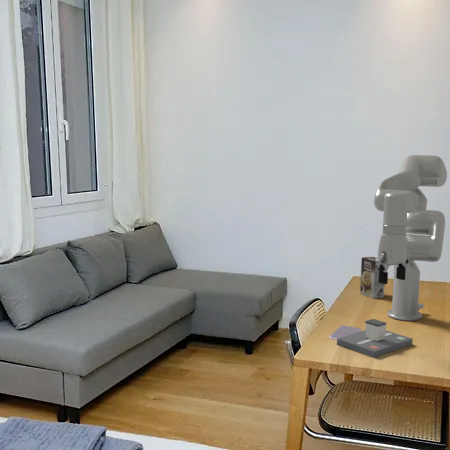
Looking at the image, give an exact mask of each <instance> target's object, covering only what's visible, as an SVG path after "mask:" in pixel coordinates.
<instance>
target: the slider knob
mask: <svg viewBox="0 0 450 450" xmlns="http://www.w3.org/2000/svg"><path fill="white" fill-rule="evenodd" d="M364 323H365V329H364V330H365V337H366V338H369V339H372V340H375V341H380V340H383V339H385V331H387V330H386V329H387V322H384V321H382V320H379V319H376V318H372V319H368V320H364Z"/></svg>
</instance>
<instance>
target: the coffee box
mask: <svg viewBox="0 0 450 450" xmlns="http://www.w3.org/2000/svg"><path fill="white" fill-rule="evenodd" d="M376 258H377V257H375V256H365V257H364V256H363V257H361V263H360V264H361V265H360V267H361V269H360V286H359V288H360V289H359V293H360V294H361V295H363V296H366V297H368V298H370V299H371V298H372V299H379V298H384V297H385V288H386V287H385V285H386V284H382V283H379V282H378V281H379V271H378V268H377V266H376V262H375V260H376ZM384 268H385V265H384Z"/></svg>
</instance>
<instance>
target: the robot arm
mask: <svg viewBox="0 0 450 450" xmlns="http://www.w3.org/2000/svg"><path fill="white" fill-rule="evenodd" d="M447 178H448V171H447V167H446V165H445V162H444V161H443V159H442V157H440V156H438V155H426V154H424V155H423V154H422V155H421V154H420V155H419V154H414V155H408V156H407V157H405V158H404V160H402V163H401V166H400V167H399V170H398V172H397V173H396V174H393V175H391V176H390V177H388V178H385V179H383V180H382V181H381V182H380V183H379V185H378V187H377V189H376V191H375V194H374V198H373V204H374V207H375V209H376V210H378V211H380V212H383V218H382V220H383V221H382V234H381V236H380V238H379V239H380V240H379V243H378V252H377V257H375V258H376V260H375V262H376V266H377V268H378V271H379V281H378V282H379V283H382V284H385V285H387V284H388V282H389V279H388V278H389V272H388V271H389V270H388V269H389V267H390V266H394V267H393V280H392V281H393V284H392V285H393V286H392V302H391V303H392V304H391V309H389V310H388V311H387V316H388V317H390V318H392V319H395V320H399V321H405V322H406V321H407V322H409V321H410V322H412V321H418V320H421V319H423V315H422V313H421V312H419V311H420V310H421V309H424V307H425V305H424V303H419V302H420V301H419V297H420V295H419V294H420V280H421V271H420V268H419V266H418V265H417V263H416V262H417V261H420V262H429V263H436V262H438V261H440V260H441V257H442V253H443V245H444V237H445V229H446V218H445V215H444V213H443V212H442V211H440V210H432V209H427V205H428V198H427V197H426V195H425V194H424V192H423V191H422V190H421V189H420V188H419V187H430V188H431V187H433V188H436V187H437V188H439V187H443V186H444V185H445V184H446V182H447ZM384 265H385V268H384Z"/></svg>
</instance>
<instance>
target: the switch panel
mask: <svg viewBox="0 0 450 450" xmlns="http://www.w3.org/2000/svg"><path fill="white" fill-rule="evenodd" d="M413 339H414V338H411V337H408V336H405V335H402V334H400V333H395V332H392V331H388V330H386V331H385V339H383V340H380V341H375V340H372V339H369V338H366V337H365V329H364V330H361V331H360V332H358V333H354V334H351V335H347V336H344V337H341V338H337V340H336V345H337V346H339V347H343V348H346V349H349V350H351V351H354V352H357V353H361V354H362V355H365V356H368V357H371V358H373V359H375V358H378V357H381V356H384V355H387V354H390V353H392V352H394V351H399V350H401V349H404V348H406V347H409V346H412V345H413Z"/></svg>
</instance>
